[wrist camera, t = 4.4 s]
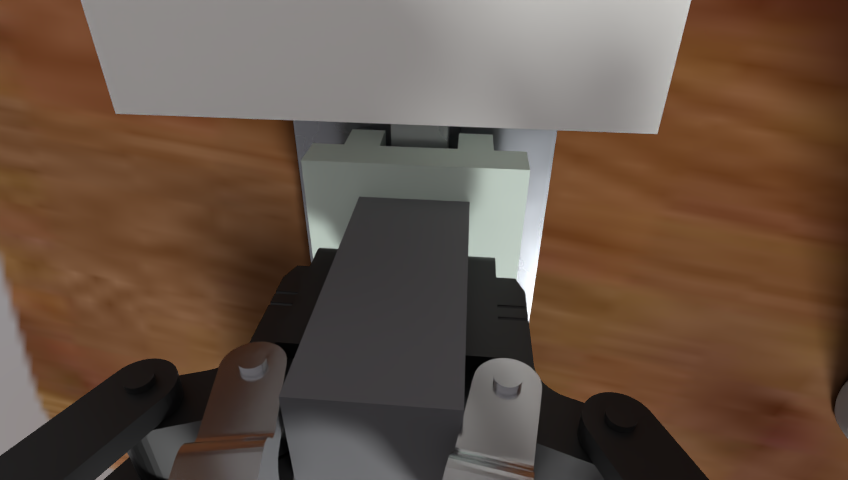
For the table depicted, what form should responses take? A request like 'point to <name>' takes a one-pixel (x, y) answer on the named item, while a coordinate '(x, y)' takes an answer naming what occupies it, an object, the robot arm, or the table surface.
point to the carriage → (395, 300)
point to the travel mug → (842, 409)
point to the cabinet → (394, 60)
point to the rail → (429, 136)
